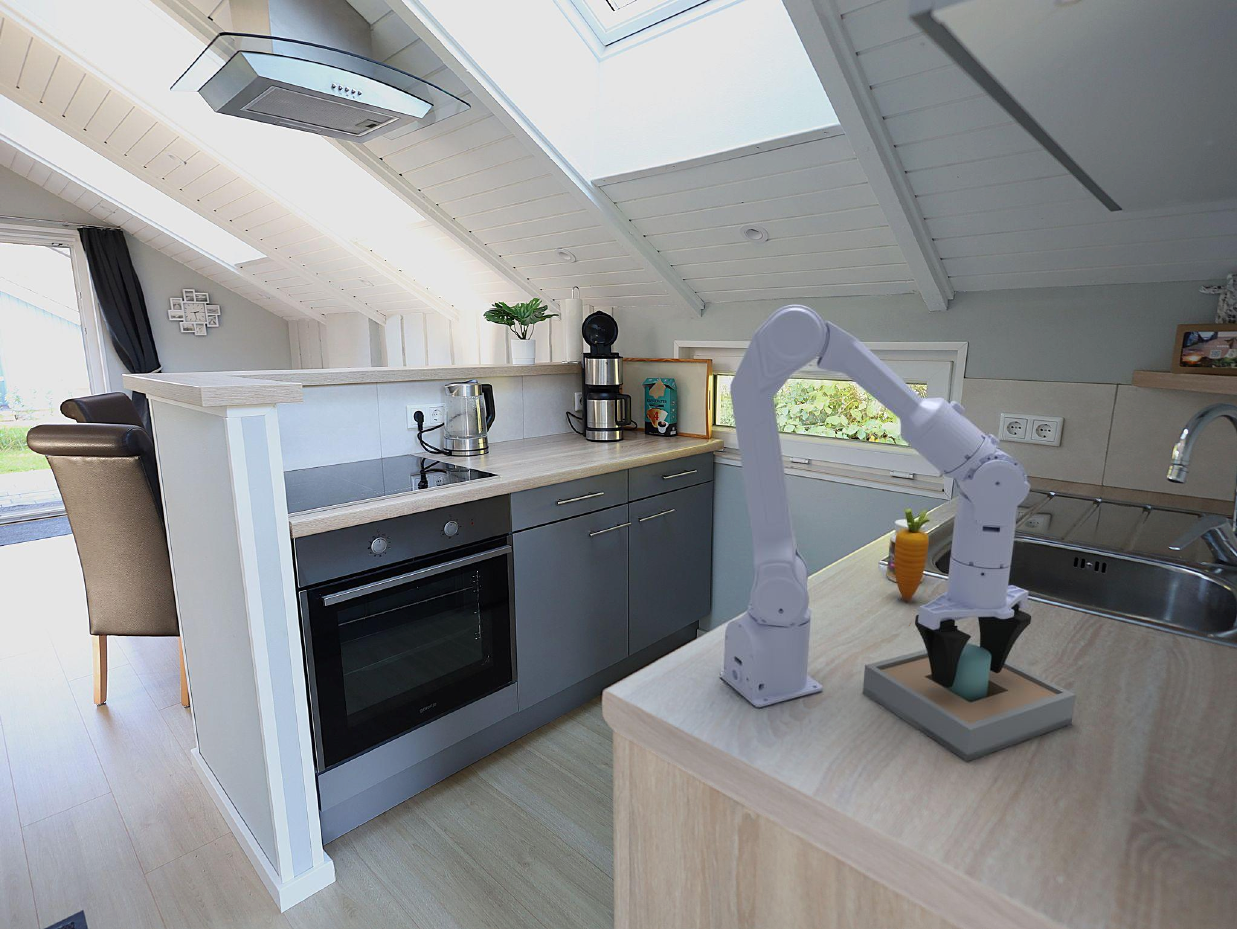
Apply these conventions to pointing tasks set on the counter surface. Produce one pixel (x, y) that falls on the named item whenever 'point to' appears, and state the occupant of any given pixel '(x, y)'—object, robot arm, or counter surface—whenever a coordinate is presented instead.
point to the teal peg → (972, 673)
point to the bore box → (969, 705)
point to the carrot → (910, 555)
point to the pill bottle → (890, 566)
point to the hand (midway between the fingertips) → (966, 675)
